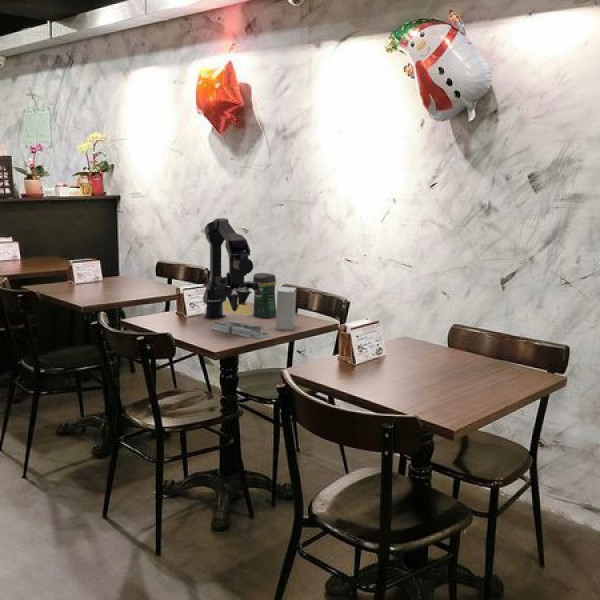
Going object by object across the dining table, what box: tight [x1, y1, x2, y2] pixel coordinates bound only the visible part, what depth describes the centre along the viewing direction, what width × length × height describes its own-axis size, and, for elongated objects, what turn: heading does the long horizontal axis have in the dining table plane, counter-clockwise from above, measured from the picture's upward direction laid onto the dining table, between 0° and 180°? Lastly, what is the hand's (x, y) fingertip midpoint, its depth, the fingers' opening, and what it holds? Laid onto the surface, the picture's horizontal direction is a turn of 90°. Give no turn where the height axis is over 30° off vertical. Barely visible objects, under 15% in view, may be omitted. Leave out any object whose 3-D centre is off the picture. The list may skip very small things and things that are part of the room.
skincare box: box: [275, 286, 297, 331], centre depth 258 cm, size 8×7×16 cm
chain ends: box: [212, 319, 270, 340], centre depth 252 cm, size 8×24×3 cm, turn 50°
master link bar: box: [222, 300, 252, 317], centre depth 251 cm, size 3×12×4 cm, turn 50°
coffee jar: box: [252, 272, 277, 319], centre depth 279 cm, size 10×8×19 cm
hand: (237, 310), depth 252 cm, fingers closed on master link bar, 3 cm apart
